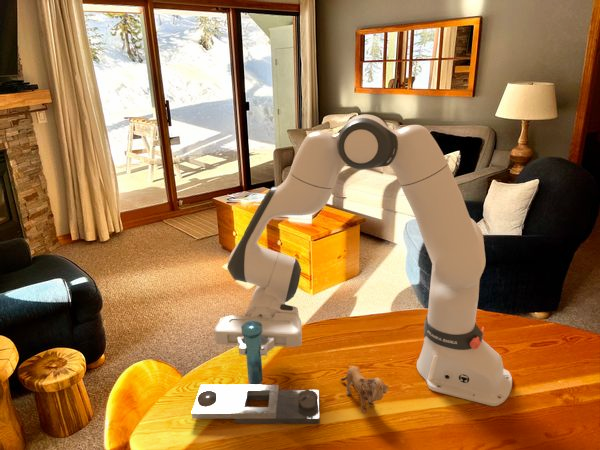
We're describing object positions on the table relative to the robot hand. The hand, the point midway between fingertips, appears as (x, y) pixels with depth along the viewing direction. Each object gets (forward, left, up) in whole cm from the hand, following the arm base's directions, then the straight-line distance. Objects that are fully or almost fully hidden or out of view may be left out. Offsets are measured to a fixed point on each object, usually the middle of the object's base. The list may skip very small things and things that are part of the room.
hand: (252, 352), depth 99 cm
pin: (0, -1, -8) cm, 8 cm away
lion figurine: (-18, -17, -16) cm, 30 cm away
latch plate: (0, -1, -16) cm, 16 cm away
